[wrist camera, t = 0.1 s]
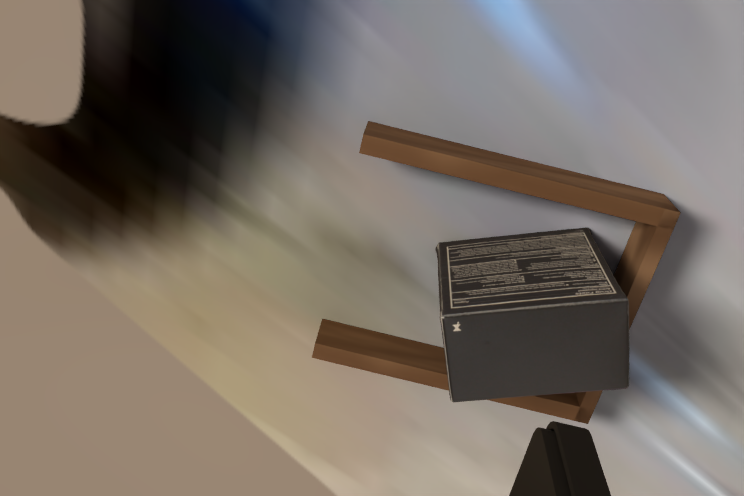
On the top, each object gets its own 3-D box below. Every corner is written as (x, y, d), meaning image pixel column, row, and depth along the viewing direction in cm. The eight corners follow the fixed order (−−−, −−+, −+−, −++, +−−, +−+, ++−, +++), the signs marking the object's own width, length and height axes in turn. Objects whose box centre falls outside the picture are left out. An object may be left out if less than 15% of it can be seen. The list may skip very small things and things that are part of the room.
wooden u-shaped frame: (368, 121, 46) (363, 134, 43) (663, 194, 47) (680, 212, 43) (319, 332, 53) (311, 357, 50) (578, 394, 53) (587, 423, 50)
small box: (444, 322, 52) (447, 409, 42) (434, 240, 49) (435, 312, 40) (593, 309, 50) (631, 395, 41) (591, 224, 48) (630, 294, 38)
